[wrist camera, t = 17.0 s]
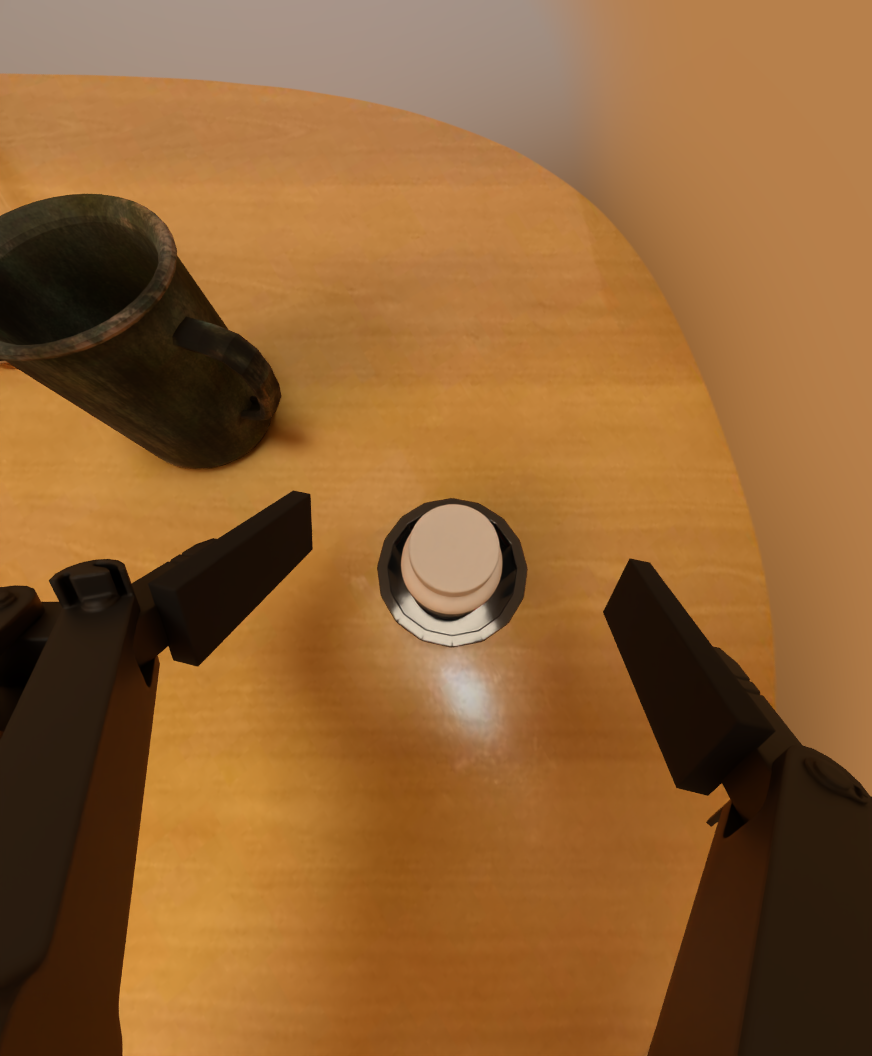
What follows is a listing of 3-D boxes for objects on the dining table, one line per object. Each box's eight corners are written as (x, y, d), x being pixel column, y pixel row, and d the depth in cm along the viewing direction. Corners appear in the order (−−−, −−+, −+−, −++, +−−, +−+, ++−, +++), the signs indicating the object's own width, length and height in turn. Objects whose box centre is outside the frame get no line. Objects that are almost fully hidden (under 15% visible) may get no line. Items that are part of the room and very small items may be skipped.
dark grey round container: (516, 537, 24) (535, 513, 19) (498, 655, 22) (515, 661, 17) (406, 515, 25) (398, 487, 20) (377, 628, 22) (360, 626, 18)
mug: (187, 352, 30) (29, 175, 18) (339, 391, 28) (270, 226, 17) (118, 456, 26) (-127, 321, 15) (284, 506, 25) (153, 399, 14)
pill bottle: (475, 630, 22) (497, 628, 13) (399, 606, 22) (375, 589, 14) (495, 554, 23) (527, 509, 15) (424, 533, 24) (415, 478, 15)
